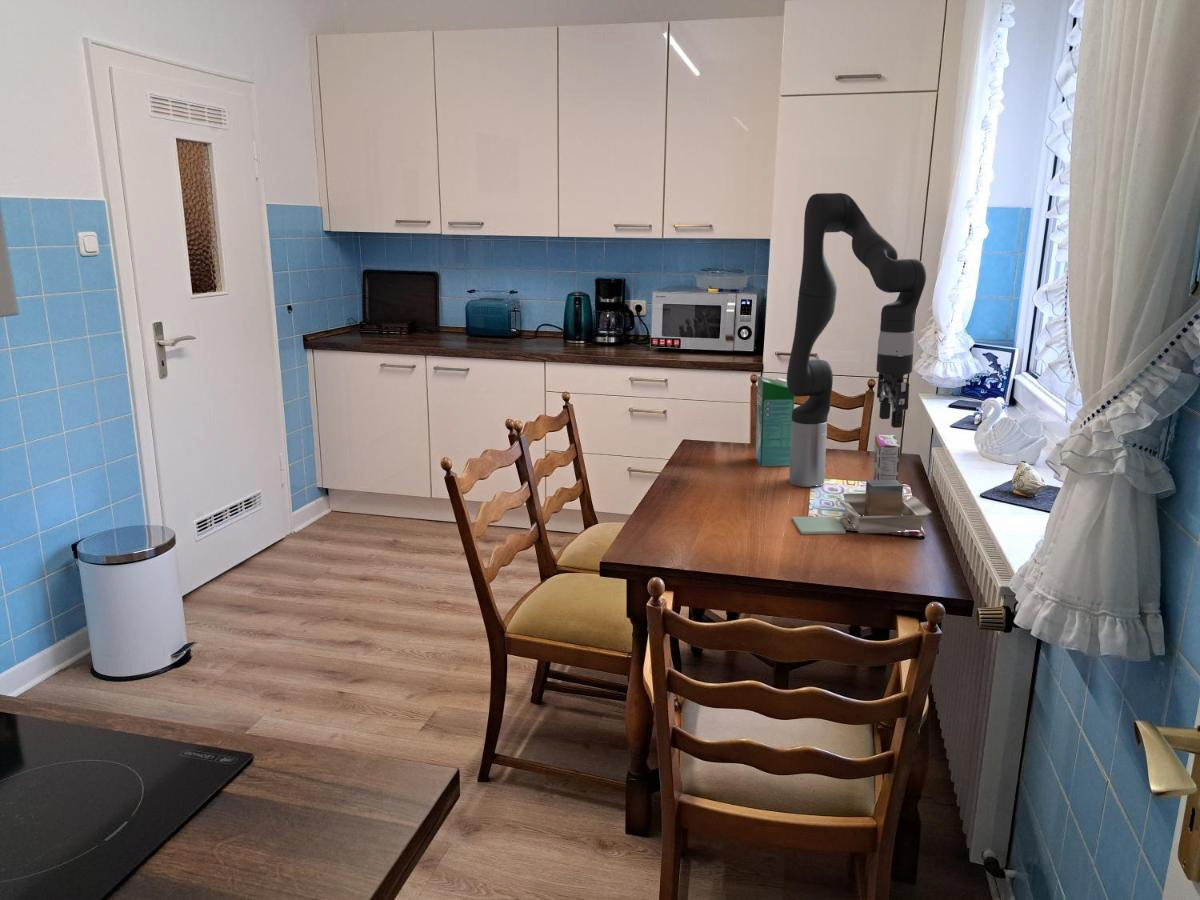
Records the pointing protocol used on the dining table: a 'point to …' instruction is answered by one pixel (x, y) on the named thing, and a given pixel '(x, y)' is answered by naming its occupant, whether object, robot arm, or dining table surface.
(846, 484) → the dining table surface
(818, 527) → the mat
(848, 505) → the carton
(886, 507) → the block
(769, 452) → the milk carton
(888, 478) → the candy bar box
